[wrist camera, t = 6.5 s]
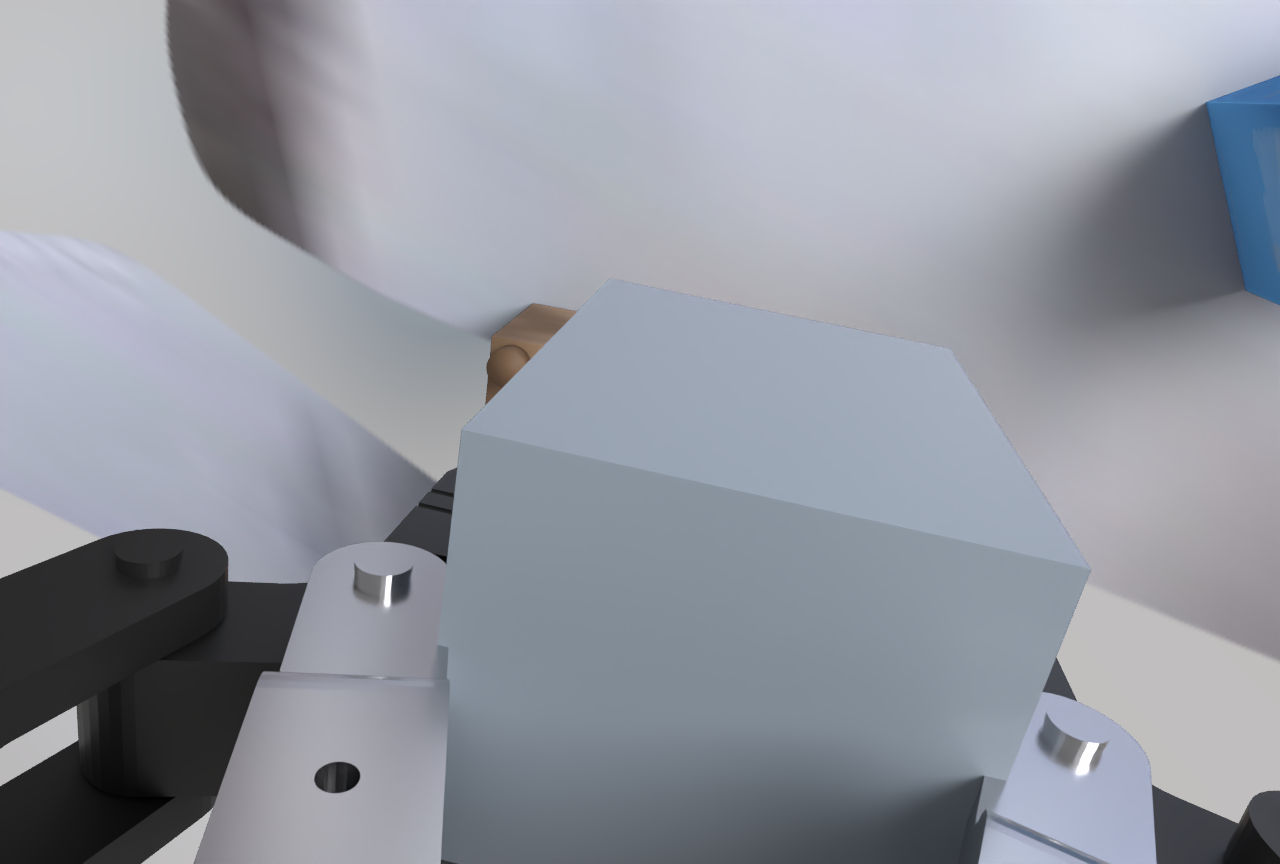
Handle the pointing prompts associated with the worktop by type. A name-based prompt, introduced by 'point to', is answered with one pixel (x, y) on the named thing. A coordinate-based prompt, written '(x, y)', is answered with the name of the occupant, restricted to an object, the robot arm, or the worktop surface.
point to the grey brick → (739, 596)
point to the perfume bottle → (1252, 179)
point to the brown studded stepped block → (521, 343)
